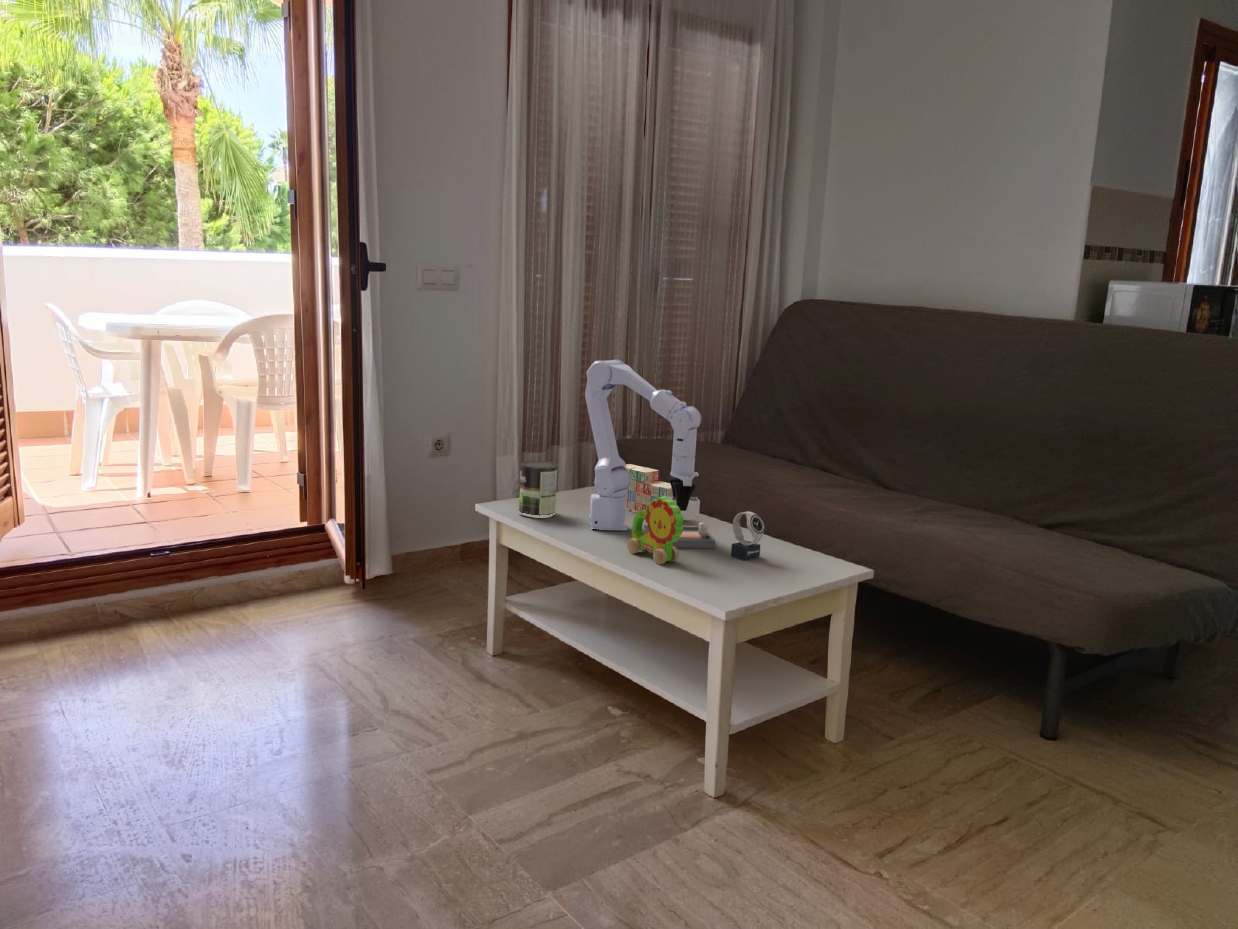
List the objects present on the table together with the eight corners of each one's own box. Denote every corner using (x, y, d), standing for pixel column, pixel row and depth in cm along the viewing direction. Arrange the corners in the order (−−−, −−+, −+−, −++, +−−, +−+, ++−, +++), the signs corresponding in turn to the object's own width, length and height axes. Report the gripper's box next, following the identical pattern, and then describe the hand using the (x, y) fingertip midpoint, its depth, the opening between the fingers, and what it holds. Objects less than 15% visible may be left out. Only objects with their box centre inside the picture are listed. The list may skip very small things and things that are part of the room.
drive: (663, 519, 230) (664, 499, 229) (660, 515, 234) (662, 495, 233) (698, 520, 231) (699, 500, 230) (695, 516, 235) (696, 496, 234)
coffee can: (519, 518, 247) (521, 467, 245) (517, 509, 257) (518, 460, 255) (557, 518, 249) (559, 467, 247) (553, 510, 259) (555, 461, 257)
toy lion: (625, 552, 220) (628, 490, 217) (642, 549, 224) (646, 488, 221) (668, 569, 208) (672, 503, 205) (686, 565, 211) (690, 501, 209)
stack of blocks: (680, 518, 257) (683, 475, 255) (664, 521, 253) (667, 477, 251) (628, 503, 273) (630, 463, 270) (612, 506, 268) (614, 464, 266)
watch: (750, 562, 217) (754, 517, 215) (725, 554, 222) (728, 510, 221) (766, 559, 220) (769, 514, 218) (740, 551, 226) (744, 507, 224)
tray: (651, 547, 225) (652, 530, 225) (643, 532, 239) (644, 517, 238) (714, 548, 227) (716, 531, 227) (703, 533, 241) (704, 518, 240)
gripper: (705, 461, 223) (701, 515, 225) (693, 451, 237) (690, 502, 239) (677, 460, 222) (673, 514, 224) (666, 450, 236) (663, 501, 239)
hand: (680, 508), depth 232 cm, fingers closed on drive, 4 cm apart
